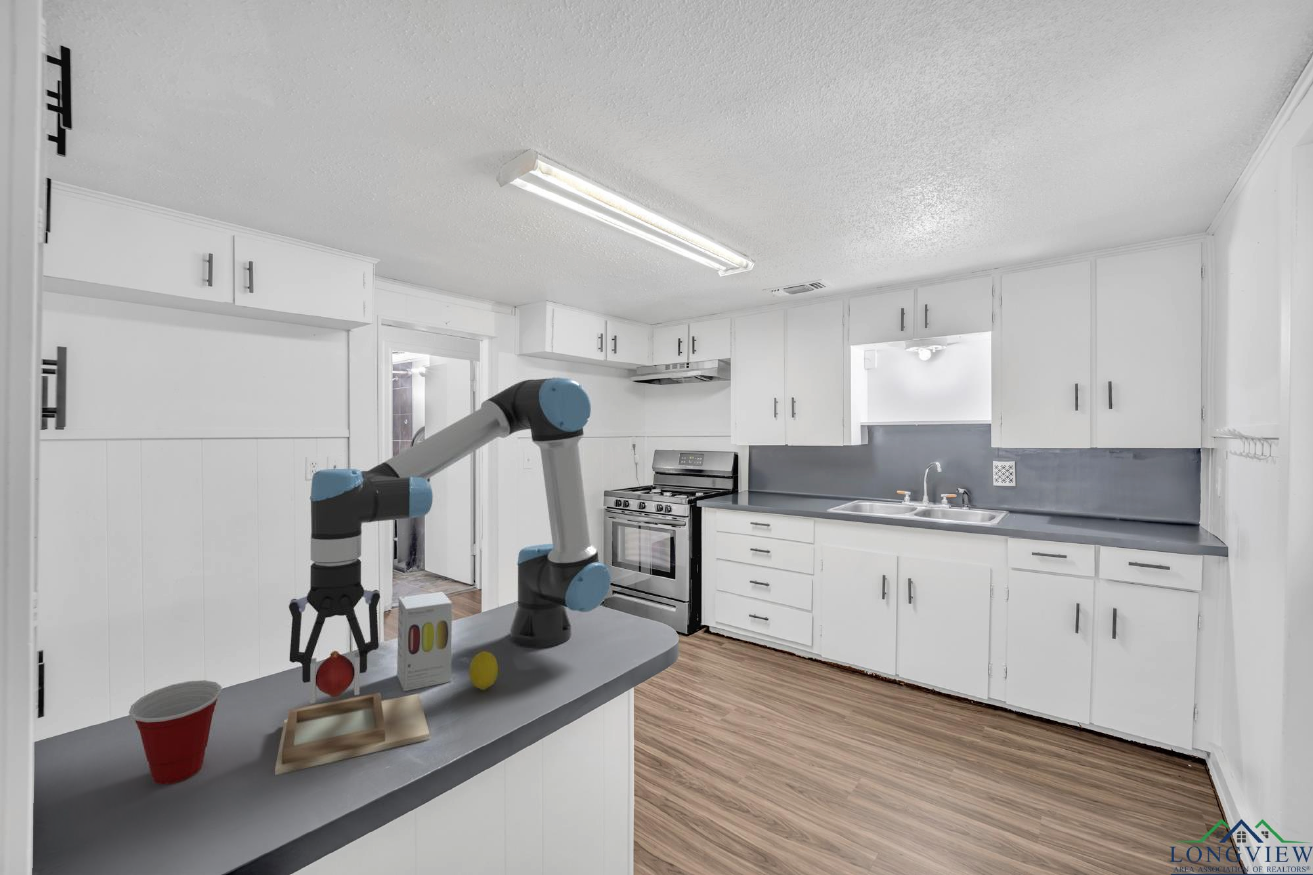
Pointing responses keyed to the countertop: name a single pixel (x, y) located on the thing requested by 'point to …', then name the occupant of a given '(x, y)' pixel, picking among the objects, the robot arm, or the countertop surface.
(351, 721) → the board
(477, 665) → the lemon
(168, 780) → the plastic cup
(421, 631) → the supplement box
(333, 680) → the onion
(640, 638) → the countertop surface
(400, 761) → the countertop surface
